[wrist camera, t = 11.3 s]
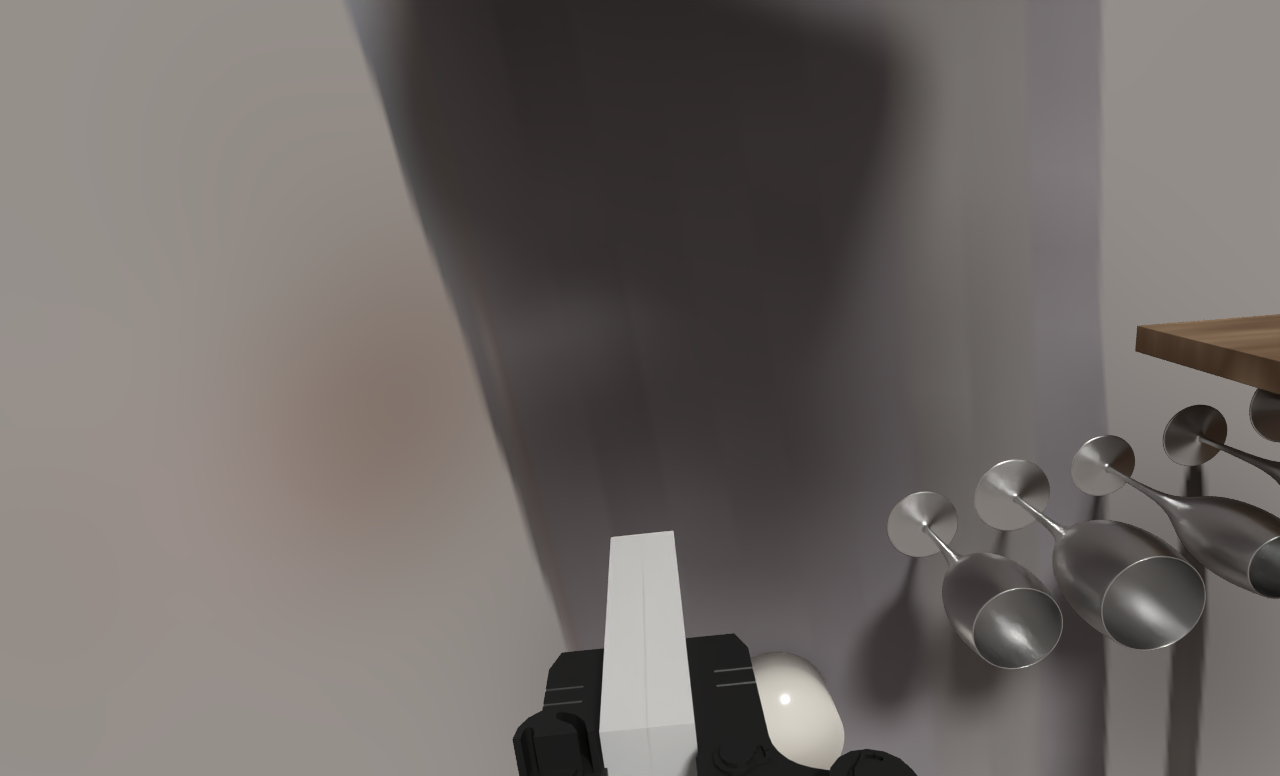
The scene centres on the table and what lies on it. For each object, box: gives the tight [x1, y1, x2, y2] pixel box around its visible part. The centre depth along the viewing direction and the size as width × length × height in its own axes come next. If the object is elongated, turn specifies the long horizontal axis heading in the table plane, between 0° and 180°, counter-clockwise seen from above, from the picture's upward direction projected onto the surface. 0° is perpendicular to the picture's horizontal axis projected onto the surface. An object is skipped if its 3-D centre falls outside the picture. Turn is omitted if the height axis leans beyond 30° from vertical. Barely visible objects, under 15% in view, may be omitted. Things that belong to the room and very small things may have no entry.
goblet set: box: [887, 388, 1280, 669], centre depth 40 cm, size 28×6×13 cm, turn 109°
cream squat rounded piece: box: [751, 652, 844, 770], centre depth 48 cm, size 7×7×4 cm
